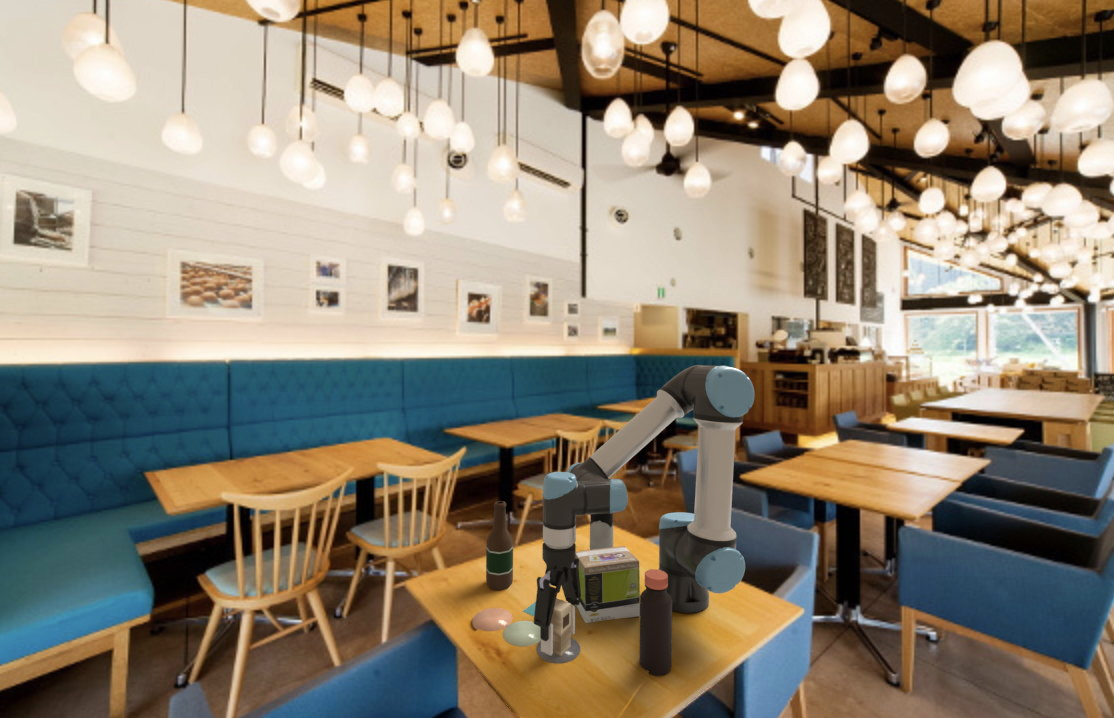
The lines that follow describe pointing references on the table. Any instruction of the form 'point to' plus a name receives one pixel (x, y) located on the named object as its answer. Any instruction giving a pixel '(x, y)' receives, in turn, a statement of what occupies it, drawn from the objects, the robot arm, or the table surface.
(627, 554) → the coffee pod box
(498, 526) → the beer bottle
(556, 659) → the grey flat round disc
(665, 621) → the vinegar
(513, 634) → the saucer middle
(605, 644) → the table surface
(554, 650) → the letter block
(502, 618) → the pink round disc
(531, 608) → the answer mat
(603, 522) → the black and grey mug
